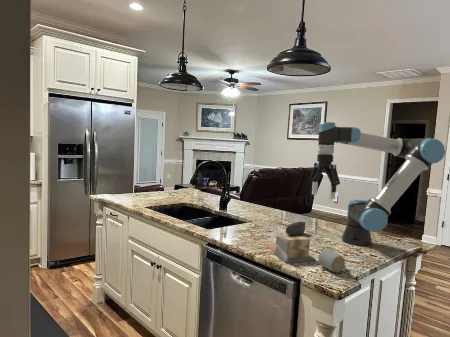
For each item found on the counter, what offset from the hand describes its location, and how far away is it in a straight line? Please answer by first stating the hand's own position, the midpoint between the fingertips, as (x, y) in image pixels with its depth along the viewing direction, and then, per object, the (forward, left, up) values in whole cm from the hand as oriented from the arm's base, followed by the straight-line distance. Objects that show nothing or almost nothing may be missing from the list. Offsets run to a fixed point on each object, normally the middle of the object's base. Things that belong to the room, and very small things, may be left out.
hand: (323, 196), depth 161 cm
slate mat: (+22, +13, -25) cm, 36 cm away
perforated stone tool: (+1, -21, -26) cm, 33 cm away
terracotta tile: (+16, +1, -25) cm, 30 cm away
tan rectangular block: (+22, +13, -25) cm, 35 cm away
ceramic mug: (+12, +28, -26) cm, 40 cm away
